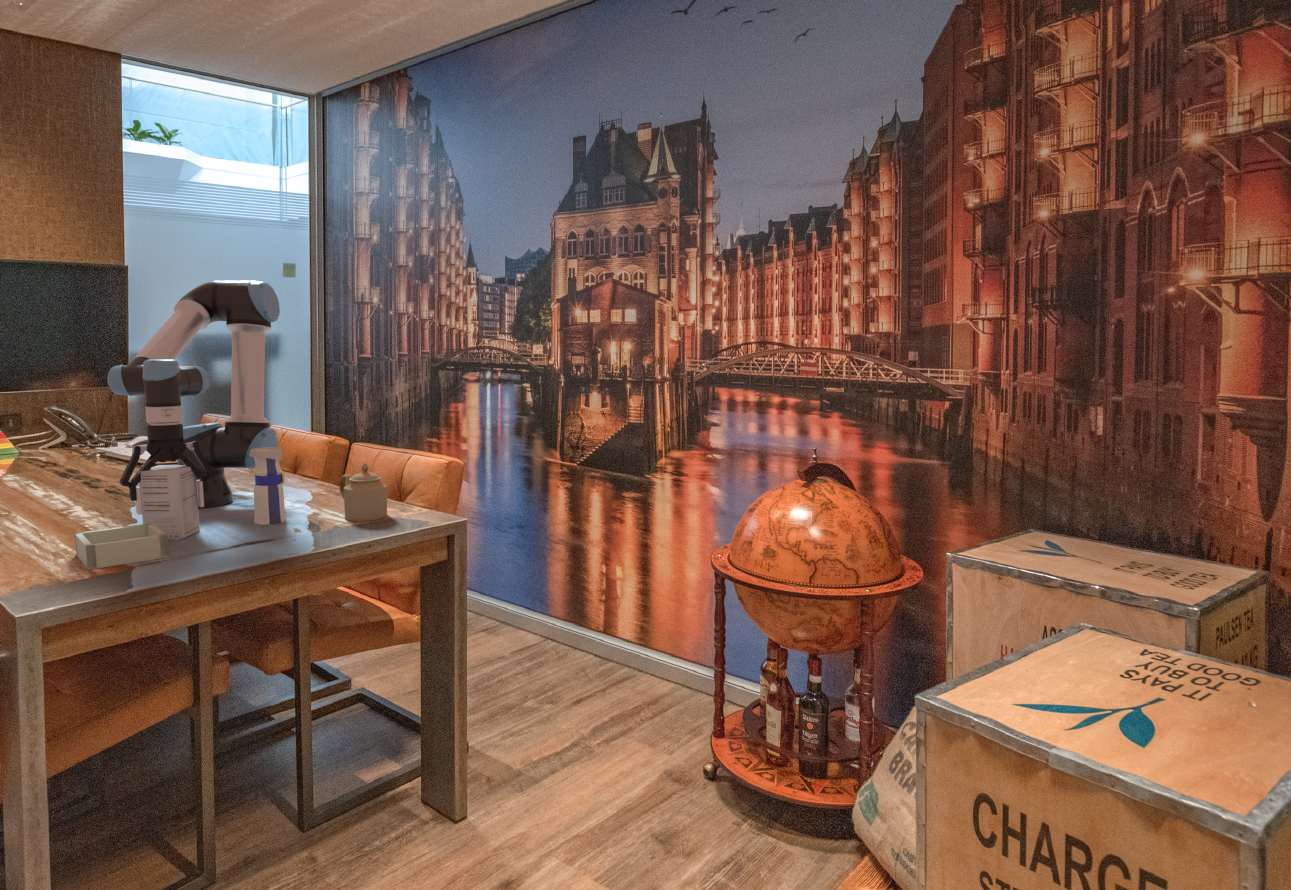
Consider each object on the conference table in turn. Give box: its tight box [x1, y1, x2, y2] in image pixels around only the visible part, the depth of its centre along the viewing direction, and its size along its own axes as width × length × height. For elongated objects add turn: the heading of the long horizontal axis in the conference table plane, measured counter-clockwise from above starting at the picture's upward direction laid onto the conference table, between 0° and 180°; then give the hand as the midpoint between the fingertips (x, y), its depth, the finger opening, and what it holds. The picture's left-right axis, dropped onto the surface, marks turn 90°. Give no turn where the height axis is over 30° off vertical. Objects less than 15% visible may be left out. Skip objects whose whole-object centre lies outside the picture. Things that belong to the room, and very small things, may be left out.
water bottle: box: [249, 427, 287, 526], centre depth 212 cm, size 8×9×25 cm
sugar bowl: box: [338, 462, 388, 522], centre depth 219 cm, size 15×11×15 cm
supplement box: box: [138, 464, 201, 540], centre depth 197 cm, size 10×9×17 cm
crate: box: [74, 523, 170, 570], centre depth 179 cm, size 15×15×5 cm
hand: (170, 510), depth 197 cm, fingers open, 13 cm apart
